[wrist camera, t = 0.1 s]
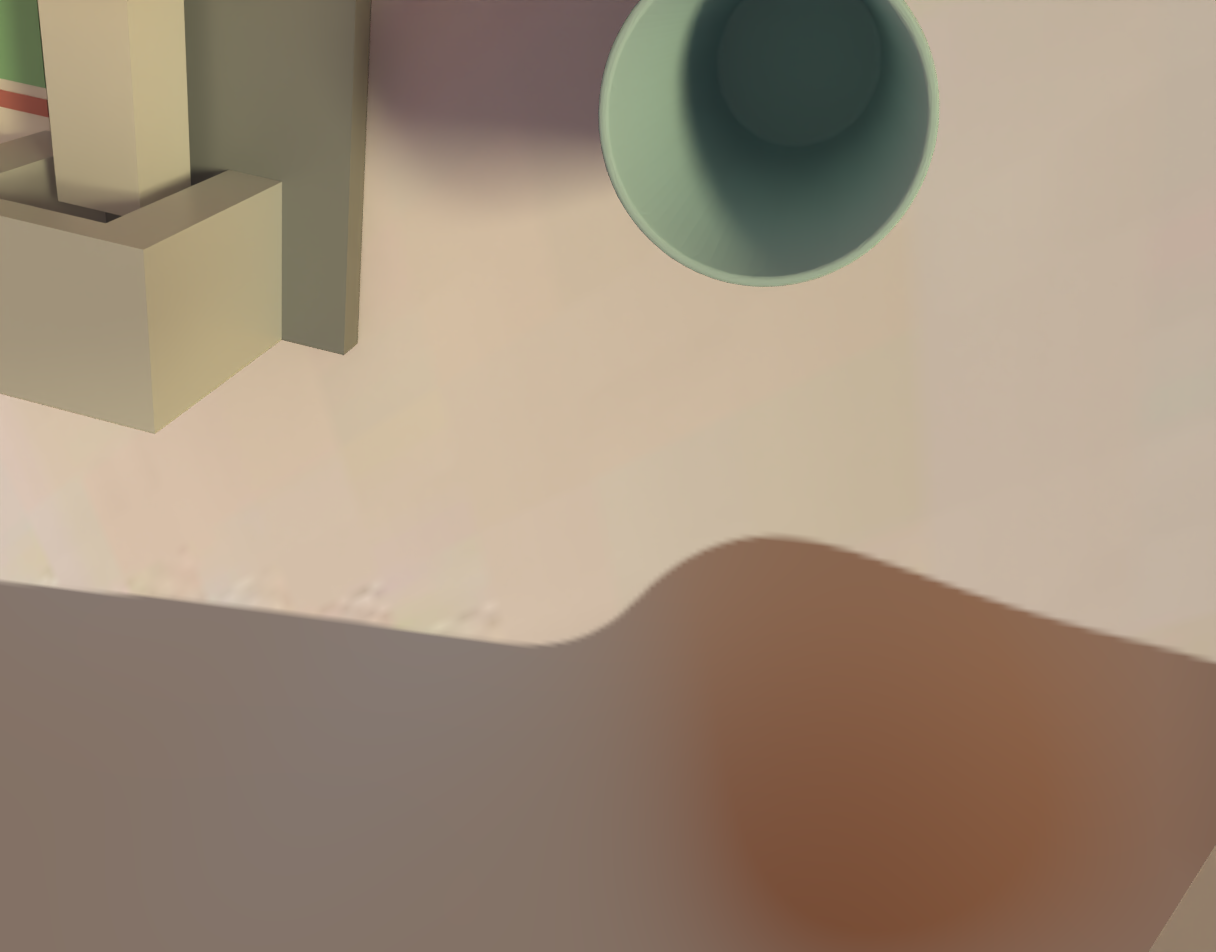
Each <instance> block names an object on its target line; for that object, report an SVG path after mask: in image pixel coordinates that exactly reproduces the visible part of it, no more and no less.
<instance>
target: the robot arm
mask: <svg viewBox="0 0 1216 952" xmlns="http://www.w3.org/2000/svg"><path fill="white" fill-rule="evenodd" d="M1149 952H1216V845H1215V847H1214V849H1213V851H1212V852H1211V853H1210V855H1209V857H1208V858H1207V860H1206V861H1205V863H1204V864H1203V866H1202V868H1201V870H1200V871H1199V872H1198V874H1197V876H1196V877H1195V879H1194V880H1193V882H1192V884H1191V885H1190V887H1189V888H1188V890H1187V892H1186V893H1185V895H1184V896H1183V898H1182V900H1181V901H1180V903H1179V905H1178V906H1177V907H1176V909H1175V911H1174V912H1173V914H1172V916H1171V917H1170V919H1169V920H1168V922H1167V923H1166V925H1165V927H1164V928H1163V930H1162V931H1161V933H1160V935H1159V936H1158V938H1157V940H1156V941H1155V943H1154V944H1153V946H1152V948H1151V949H1150V951H1149Z"/></svg>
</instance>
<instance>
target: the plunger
mask: <svg viewBox="0 0 1216 952" xmlns="http://www.w3.org/2000/svg"><path fill="white" fill-rule="evenodd" d="M38 7H39V17H40V27H41V37H42V47H43V57H44V67H45V77H46V87H47V97H48V107H49V117H50V127H51V137H52V147H53V157H54V166H55V176H56V186H57V196H58V201H61V202H65V203H69V204H73V205H78V206H82V207H86V208H91V209H95V210H99V211H103V212H108V213H112V214H116V215H120V216H124V215H126V214H129V213H131V212H133V211H135V210H138V209H140V208H142V207H145V206H147V205H149V204H152V203H154V202H156V201H158V200H161V199H163V198H165V197H168V196H170V195H172V194H175V193H177V192H179V191H181V190H184V189H186V188H188V187H191V175H190V150H189V124H188V98H187V73H186V47H185V22H184V0H38Z"/></svg>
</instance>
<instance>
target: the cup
mask: <svg viewBox="0 0 1216 952" xmlns="http://www.w3.org/2000/svg"><path fill="white" fill-rule="evenodd" d="M598 115H599V134H600V142H601V148H602V153H603V158H604V161H605V165H606V169H607V172H608V174H609V177H610V180H611V182H612V185H613V187H614V189H615V191H616V194H617V196H618V198H619V200H620V201H621V203H622V205H623V207H624V208H625V210H626V211H627V213H628V214H629V216H630V217H631V218H632V220H633V221H634V223H635V224H636V225H637V226H638V227H639V229H640V230H641V231H642V232H643V233H644V234H645V235H646V236H647V237H648V238H649V239H650V240H651V241H652V242H653V243H654V244H655V245H656V246H657V247H658V248H660V249H661V250H662V251H663V252H664V253H666V254H667V255H668V256H670V257H671V258H672V259H674V260H676V261H677V262H679V263H681V264H682V265H684V266H686V267H688V268H690V269H692V270H694V271H696V272H698V273H700V274H703V275H705V276H708V277H710V278H713V279H717V280H720V281H724V282H727V283H732V284H738V285H745V286H757V287H773V286H784V285H792V284H797V283H801V282H806V281H810V280H813V279H816V278H819V277H822V276H825V275H827V274H829V273H832V272H834V271H836V270H838V269H840V268H842V267H844V266H846V265H848V264H850V263H852V262H853V261H855V260H856V259H858V258H859V257H861V256H862V255H864V254H865V253H867V252H868V251H869V250H870V249H872V248H873V247H874V246H875V245H876V244H877V243H879V242H880V241H881V240H882V239H883V238H884V237H885V236H886V235H887V234H888V233H889V232H890V231H891V230H892V229H893V227H894V226H895V225H896V224H897V223H898V222H899V220H900V219H901V218H902V217H903V215H904V214H905V213H906V211H907V210H908V208H909V207H910V205H911V203H912V202H913V200H914V198H915V197H916V195H917V193H918V191H919V189H920V187H921V185H922V183H923V181H924V178H925V176H926V174H927V171H928V168H929V165H930V162H931V159H932V155H933V152H934V148H935V144H936V138H937V132H938V123H939V92H938V82H937V75H936V70H935V66H934V62H933V58H932V55H931V51H930V48H929V46H928V43H927V40H926V38H925V36H924V33H923V31H922V29H921V27H920V25H919V24H918V22H917V20H916V18H915V16H914V15H913V13H912V12H911V10H910V8H909V7H908V5H907V4H906V3H905V1H904V0H640V1H639V2H638V3H637V4H636V6H635V7H634V8H633V9H632V11H631V13H630V14H629V16H628V17H627V19H626V20H625V22H624V23H623V25H622V27H621V29H620V31H619V33H618V35H617V37H616V39H615V41H614V43H613V46H612V48H611V50H610V53H609V56H608V59H607V62H606V65H605V69H604V73H603V78H602V83H601V89H600V97H599V112H598Z"/></svg>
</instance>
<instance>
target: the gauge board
mask: <svg viewBox="0 0 1216 952" xmlns="http://www.w3.org/2000/svg"><path fill="white" fill-rule="evenodd" d="M370 17H371V0H184V22H185V47H186V73H187V98H188V124H189V150H190V175H191V187H188V188H186V189H184V190H181V191H179V192H177V193H175V194H172V195H170V196H168V197H165V198H163V199H161V200H158V201H156V202H154V203H152V204H149V205H147V206H145V207H142V208H140V209H138V210H135V211H133V212H131V213H129V214H126V215H124V216H120V215H116V214H112V213H108V212H103V211H99V210H95V209H91V208H86V207H82V206H78V205H73V204H69V203H65V202H61V201H58V196H57V186H56V176H55V166H54V157H53V147H52V137H51V127H50V117H49V107H48V97H47V87H46V77H45V67H44V57H43V47H42V37H41V27H40V17H39V7H38V0H0V394H4V395H7V396H11V397H15V398H19V399H23V400H27V401H30V402H34V403H38V404H42V405H46V406H50V407H53V408H57V409H61V410H65V411H69V412H73V413H76V414H80V415H84V416H88V417H92V418H96V419H99V420H103V421H107V422H111V423H115V424H119V425H122V426H126V427H130V428H134V429H138V430H142V431H145V432H149V433H153V434H155V433H157V432H158V431H160V430H161V429H162V428H164V427H165V426H166V425H168V424H169V423H170V422H172V421H173V420H174V419H176V418H177V417H178V416H180V415H181V414H182V413H184V412H185V411H186V410H188V409H189V408H190V407H192V406H193V405H194V404H196V403H197V402H199V401H200V400H201V399H203V398H204V397H205V396H207V395H208V394H209V393H211V392H212V391H213V390H215V389H216V388H217V387H219V386H220V385H221V384H223V383H224V382H225V381H227V380H228V379H229V378H231V377H232V376H234V375H235V374H236V373H238V372H239V371H240V370H242V369H243V368H244V367H246V366H247V365H248V364H250V363H251V362H252V361H254V360H255V359H256V358H258V357H259V356H260V355H262V354H263V353H264V352H266V351H267V350H268V349H270V348H271V347H273V346H274V345H275V344H277V343H278V342H279V341H281V340H284V341H289V342H293V343H297V344H301V345H305V346H309V347H313V348H317V349H321V350H325V351H329V352H333V353H338V354H342V355H344V354H346V353H347V352H348V351H349V350H350V349H352V348H353V347H354V346H355V345H356V344H357V343H358V318H359V292H360V267H361V242H362V217H363V192H364V167H365V142H366V117H367V92H368V67H369V42H370Z"/></svg>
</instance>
